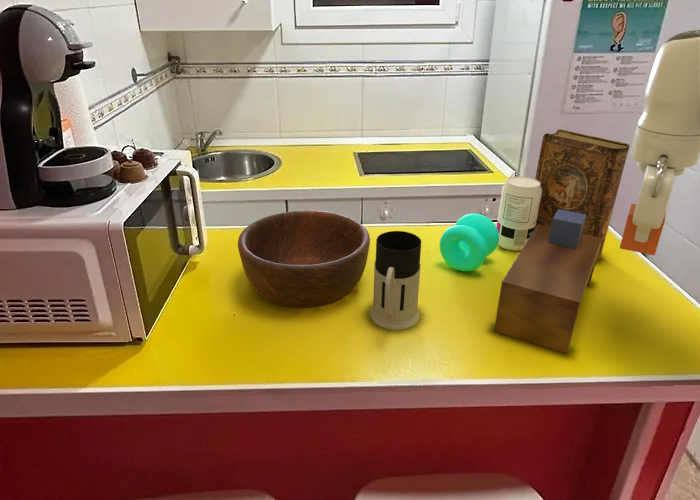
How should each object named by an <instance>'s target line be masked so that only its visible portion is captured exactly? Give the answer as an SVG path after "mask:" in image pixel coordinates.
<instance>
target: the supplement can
mask: <svg viewBox="0 0 700 500" xmlns="http://www.w3.org/2000/svg"><path fill="white" fill-rule="evenodd" d="M541 195H542V189H541V186H540V182H539V181H538V180H536V179H535V178H532V177H528V176H517V175H516V176H511V177H508V178H507V179H506V181H505V182H504V184H503V185H502V188H501V195H500V201H499V208H498V214H497V221H496V227H497V230H498V233H499V243H498V246H499V247H501V248H502V249H505V250H508V251H514V252H521V251H522V249H523V247H524V246H525V244H526V243H527V241H528V239H529V238H530V236H531V235H532V233H533V231H534V230H535V226H536V221H537V216H538V211H539V205H540V200H541Z"/></svg>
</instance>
